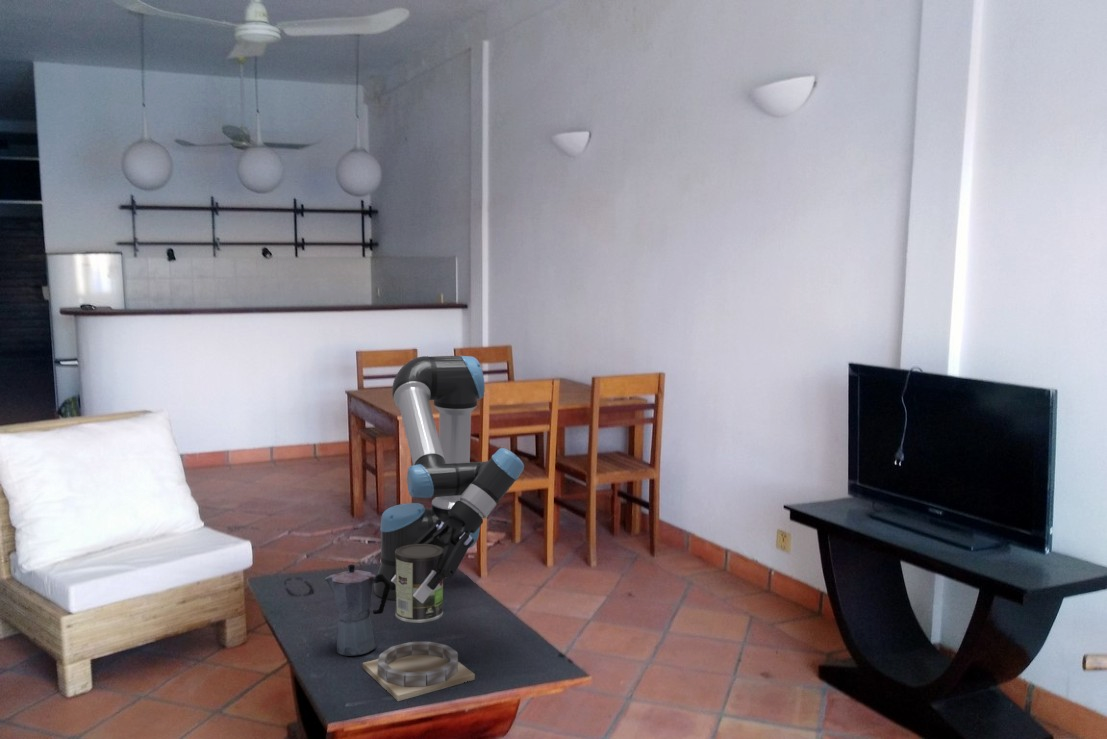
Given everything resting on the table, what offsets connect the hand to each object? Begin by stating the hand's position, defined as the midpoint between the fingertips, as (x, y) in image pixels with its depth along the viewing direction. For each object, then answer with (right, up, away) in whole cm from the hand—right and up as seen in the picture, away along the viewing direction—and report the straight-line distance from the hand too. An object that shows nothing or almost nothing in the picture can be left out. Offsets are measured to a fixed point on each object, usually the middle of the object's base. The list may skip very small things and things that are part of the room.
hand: (406, 591), depth 188 cm
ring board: (+2, -19, +4) cm, 19 cm away
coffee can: (+2, -6, +2) cm, 6 cm away
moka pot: (-14, -17, +16) cm, 28 cm away
